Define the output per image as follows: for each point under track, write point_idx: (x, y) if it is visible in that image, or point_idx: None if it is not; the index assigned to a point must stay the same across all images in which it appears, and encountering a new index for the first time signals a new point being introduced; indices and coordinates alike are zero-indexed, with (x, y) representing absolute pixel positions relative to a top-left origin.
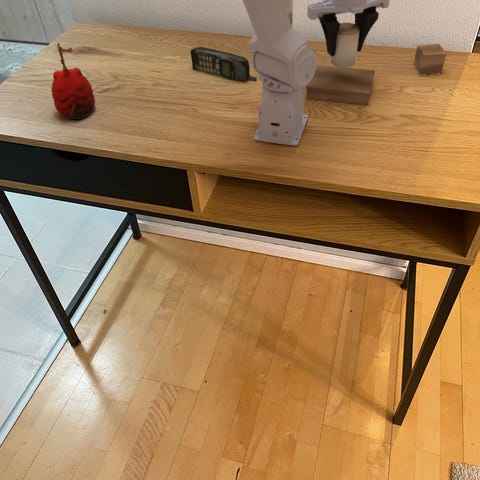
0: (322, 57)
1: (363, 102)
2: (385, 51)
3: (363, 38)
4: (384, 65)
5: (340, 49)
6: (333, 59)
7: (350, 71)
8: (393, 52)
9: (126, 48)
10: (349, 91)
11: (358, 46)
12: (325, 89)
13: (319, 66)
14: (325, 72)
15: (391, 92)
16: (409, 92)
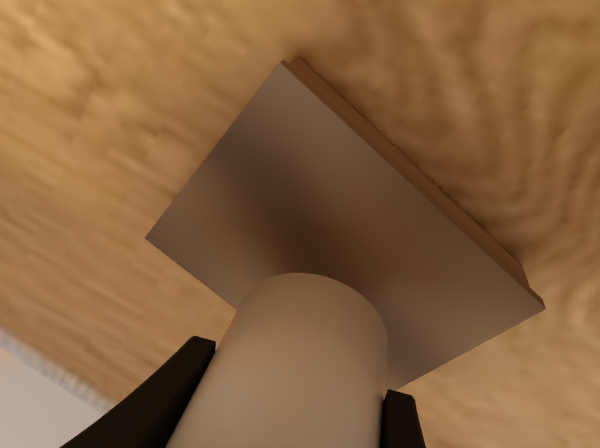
0: None
1: (312, 72)
2: (51, 337)
3: (140, 408)
4: (84, 277)
5: (363, 411)
6: (384, 371)
7: None
8: (27, 319)
9: None
10: (370, 146)
11: (198, 370)
12: (470, 236)
13: None
14: None
15: (134, 96)
16: (56, 50)
